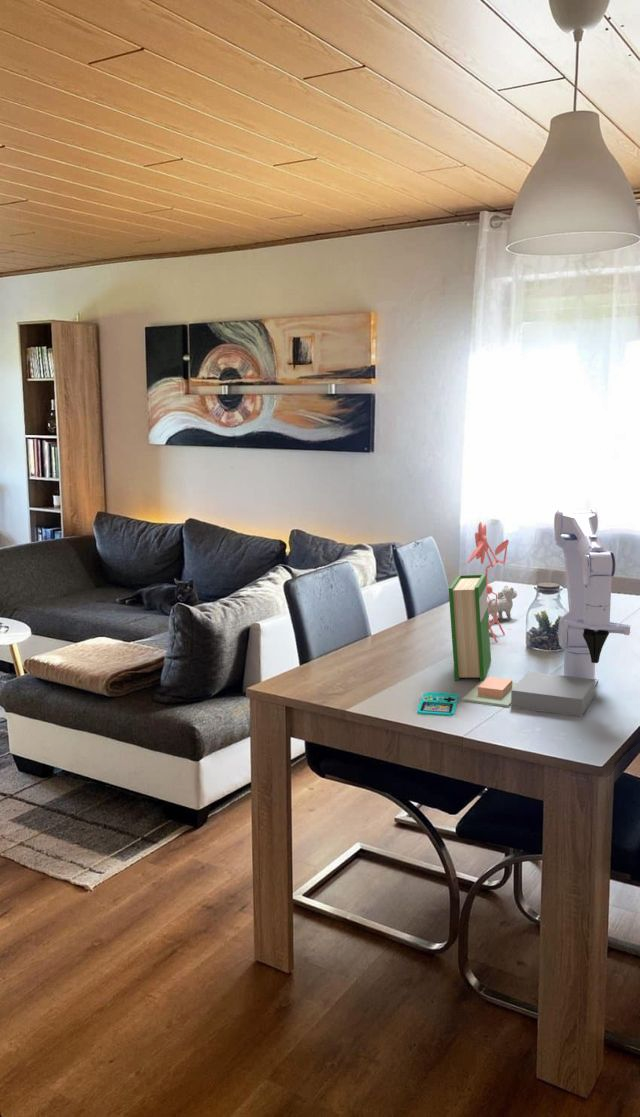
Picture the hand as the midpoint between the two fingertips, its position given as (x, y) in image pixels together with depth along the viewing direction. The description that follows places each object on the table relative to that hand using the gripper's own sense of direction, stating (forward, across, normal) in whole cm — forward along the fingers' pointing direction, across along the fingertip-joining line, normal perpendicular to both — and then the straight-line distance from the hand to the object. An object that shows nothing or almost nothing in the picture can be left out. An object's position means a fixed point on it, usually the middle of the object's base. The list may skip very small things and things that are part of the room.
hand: (595, 661), depth 205 cm
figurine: (+10, -42, +49) cm, 66 cm away
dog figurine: (+10, -42, +73) cm, 85 cm away
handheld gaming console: (+11, -33, -14) cm, 38 cm away
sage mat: (+10, -23, -1) cm, 25 cm away
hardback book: (+10, -33, +14) cm, 37 cm away
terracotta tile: (+8, -23, -1) cm, 24 cm away
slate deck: (+10, -9, -1) cm, 14 cm away
